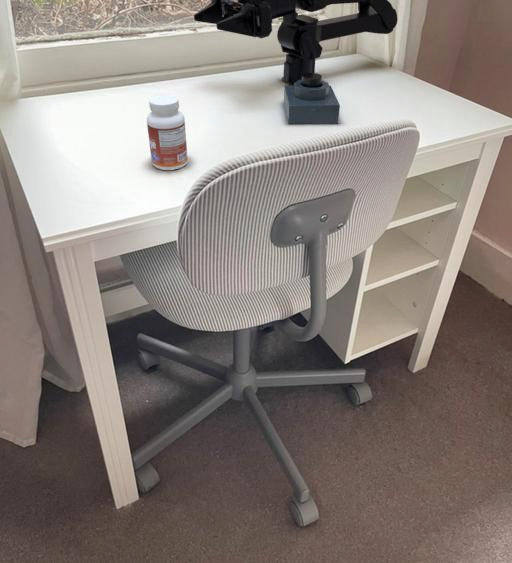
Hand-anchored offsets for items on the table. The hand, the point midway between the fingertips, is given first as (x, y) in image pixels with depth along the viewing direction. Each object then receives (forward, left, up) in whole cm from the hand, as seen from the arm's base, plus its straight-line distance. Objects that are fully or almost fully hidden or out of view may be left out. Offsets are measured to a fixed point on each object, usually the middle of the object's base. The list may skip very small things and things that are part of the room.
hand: (205, 22), depth 107 cm
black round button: (-17, +15, -10) cm, 25 cm away
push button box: (-17, +15, -16) cm, 28 cm away
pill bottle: (+17, +26, -16) cm, 35 cm away
